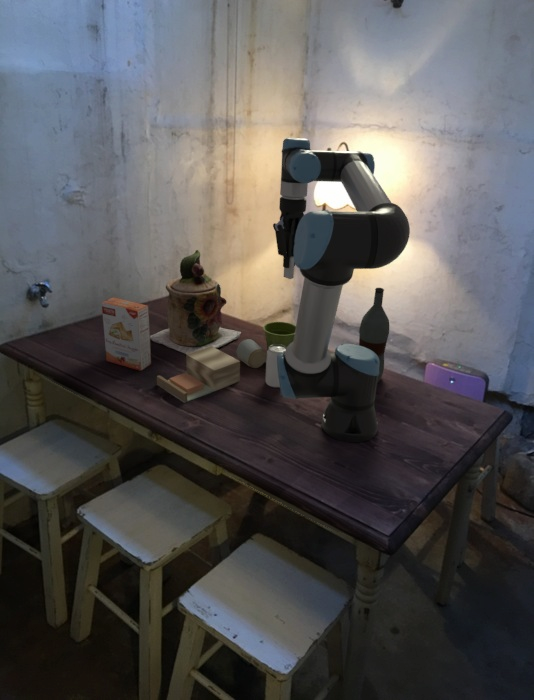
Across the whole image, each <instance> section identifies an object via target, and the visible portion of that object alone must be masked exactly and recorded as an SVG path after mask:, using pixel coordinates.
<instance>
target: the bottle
mask: <svg viewBox="0 0 534 700" xmlns="http://www.w3.org/2000/svg"><path fill="white" fill-rule="evenodd" d="M374 290H375V291H374V299H373V305H372V306H371V307H370V308H369V309H368V311H367V312H366V313H365V314H364V315H363V317H362V319H361V322H360V324H359V328H358V329H359V335H358V336H359V339H358V345H360V346H363V347H366V348H368V349H370V350H372V351H373V352H374V353H375V354H376V355H377V356H378V358H379V361H380V363H379V375H378V382H377V383H379V382H381V379H382V378H383V374H384V371H385V370H384V369H385V351H386V347H387V342H388V339H389V335H390V320H389V318H388V315H387V314H386V311H385V310H384V307H383V299H384V291H385V289H384V288H382V287H376V288H375V289H374Z"/></svg>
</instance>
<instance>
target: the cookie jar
mask: <svg viewBox="0 0 534 700" xmlns="http://www.w3.org/2000/svg"><path fill="white" fill-rule="evenodd" d="M200 258H201V252H200V250H199V249H196V250H195V252H194V253H192V254H191V255H187V256H185V257H183V258H182V260H181V262H180V264H179V272H180V277H176V278H173V279H171V280H169V281H168V282H167V283H166V285H165V290H166V291H167V292H168V300H167V314H166V320H167V321H166V322H167V325H168V328H165V329H162V330H161V331H158V332H157V333H154V334H150V341H152V342H154V343H156V344H160V345H163V346H165V347H167V348H169V349H172V350H175V351H178V352H180V353H183V354H184V355H186V354H189V353H192V352H195V351H198V350H201V349H205V348H208V347H211V346H212V347H214V348H216V349H218V348H220V347H223V346H225V345H227V344H229V343H231V342H233V341H234V340H238V339H239V338H240V336H241V334H242V332H241V331H240V330H239V331H238V330H233V329H227V328H223V327H221V326H222V325H223V318H222V316H223V314H222V308H224V306H225V305H226V304H227V303H228V302H227V299H226V298H224V297H222V296H221V295H222V288H221V285H220V284H219V282H218V281H216V280H215V279H212V278H211V277H210V276H209V275H207V274H206V273H205V269H204V267H203V265H201V259H200Z"/></svg>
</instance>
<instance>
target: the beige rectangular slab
mask: <svg viewBox="0 0 534 700" xmlns="http://www.w3.org/2000/svg"><path fill="white" fill-rule="evenodd" d="M185 357H186V359H185V360H186V363H185V364H186V373H187V374H189V375H191V376H192V377H194V378H196V379H197V380H199V381H201V382H202V383H204V384H205V385H207V386H208V387H210V388H212V389H213V390H214V392H217V391H219V390H221V389H223V388H226V387H229V386H231V385H234V384H236V383H239V382H240V381H241V379H240V377H241V376H240V375H241V374H240V373H241V360H240V359H238V358H237V359H236V358H235V357H233V356H231V355H229V354H227V353H225V352H223V351H222V350H220V349H218V348H217V349H216V348H214V347H212V346H211V347H208V348H205V349H201V350H198V351H195V352H192V353H189V354H185Z"/></svg>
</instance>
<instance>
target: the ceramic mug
mask: <svg viewBox="0 0 534 700" xmlns="http://www.w3.org/2000/svg"><path fill="white" fill-rule="evenodd" d="M235 354H236V357H237V359H238V360H239V361H241V362H243V363H244V364H246V365H247V367H250V368H251V369H258V368H260V367H262V366H263V365H264V364H266V360H267V352H266V351H265V349H263V348H262V347H261V346H260V345H259V344H258V343H256V341H254V339H251V338H248V339H243V340H242V341H240V343H239V344H238V346H237V347H236V353H235Z"/></svg>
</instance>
